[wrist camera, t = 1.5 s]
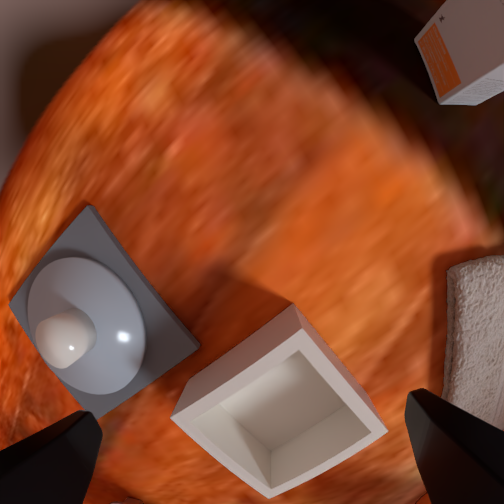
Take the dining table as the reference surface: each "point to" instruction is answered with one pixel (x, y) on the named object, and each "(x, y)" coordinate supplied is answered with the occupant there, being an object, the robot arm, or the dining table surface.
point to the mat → (152, 305)
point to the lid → (87, 325)
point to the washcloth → (476, 339)
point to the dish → (278, 407)
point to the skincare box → (465, 51)
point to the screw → (128, 501)
